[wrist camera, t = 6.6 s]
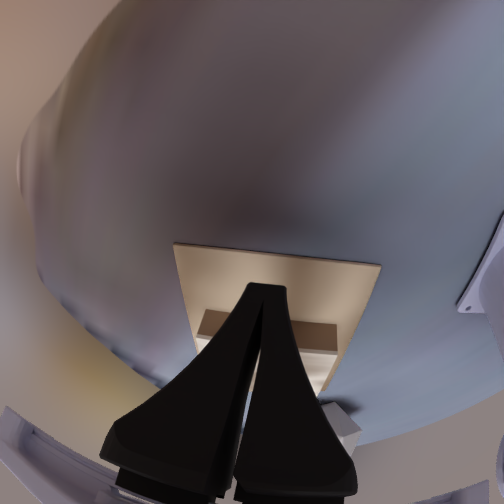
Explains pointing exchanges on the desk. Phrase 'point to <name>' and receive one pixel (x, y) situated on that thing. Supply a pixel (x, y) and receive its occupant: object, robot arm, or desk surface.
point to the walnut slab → (307, 339)
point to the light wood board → (278, 273)
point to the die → (342, 426)
